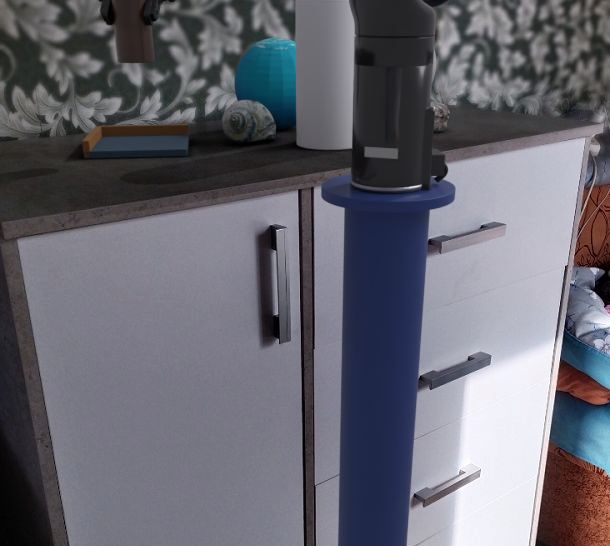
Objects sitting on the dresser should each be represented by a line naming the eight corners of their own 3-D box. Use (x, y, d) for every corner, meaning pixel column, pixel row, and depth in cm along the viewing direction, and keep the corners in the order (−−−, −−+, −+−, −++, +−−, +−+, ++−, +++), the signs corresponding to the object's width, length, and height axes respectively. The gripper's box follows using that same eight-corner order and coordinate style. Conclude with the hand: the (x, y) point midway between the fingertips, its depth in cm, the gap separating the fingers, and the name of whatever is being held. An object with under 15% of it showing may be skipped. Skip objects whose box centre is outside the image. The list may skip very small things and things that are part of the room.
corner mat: (189, 139, 127) (188, 123, 126) (186, 156, 114) (185, 138, 113) (97, 141, 126) (95, 125, 125) (84, 158, 112) (81, 140, 111)
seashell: (283, 148, 128) (228, 157, 120) (256, 125, 131) (200, 131, 123) (295, 113, 124) (238, 120, 116) (266, 90, 127) (209, 95, 119)
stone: (362, 129, 133) (404, 139, 127) (367, 94, 131) (410, 103, 124) (413, 130, 142) (455, 139, 135) (419, 97, 139) (461, 105, 132)
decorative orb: (232, 124, 143) (229, 36, 136) (312, 121, 145) (312, 35, 138) (240, 136, 129) (236, 40, 123) (327, 134, 132) (327, 39, 125)
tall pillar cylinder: (376, 143, 123) (383, -33, 111) (330, 152, 116) (332, -35, 105) (328, 136, 129) (330, -31, 118) (282, 144, 123) (279, -33, 112)
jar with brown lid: (155, 59, 112) (148, -33, 107) (153, 62, 107) (145, -34, 102) (119, 60, 111) (109, -33, 106) (115, 63, 107) (105, -34, 101)
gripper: (91, -96, 108) (67, -1, 103) (190, -98, 106) (170, 0, 101) (110, -52, 115) (88, 40, 110) (202, -52, 113) (185, 41, 108)
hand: (127, 20), depth 105 cm, fingers closed on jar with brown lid, 5 cm apart
